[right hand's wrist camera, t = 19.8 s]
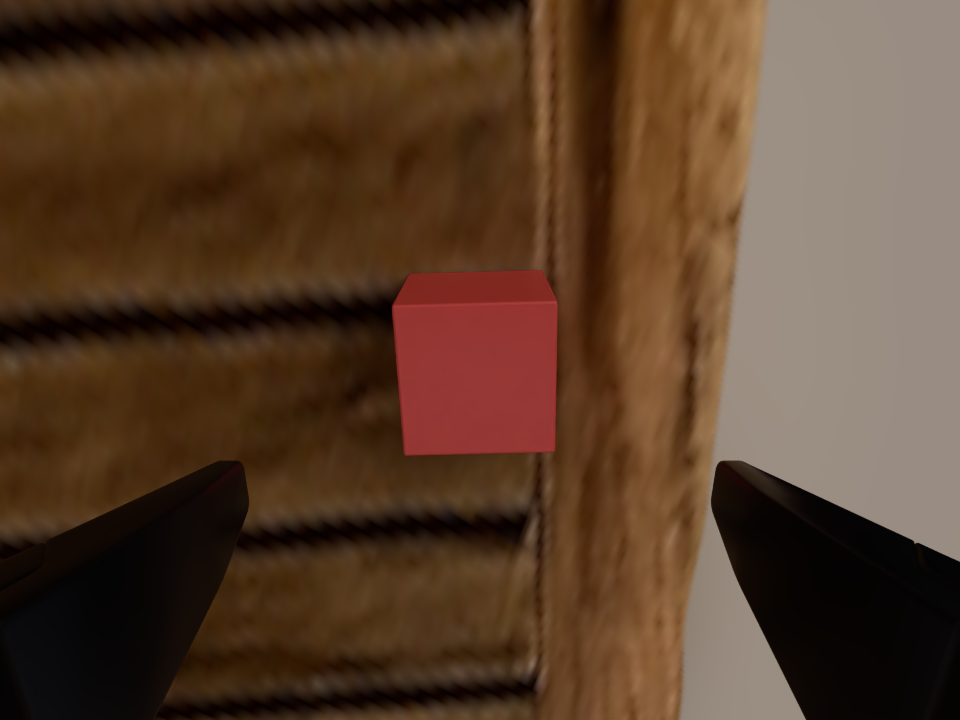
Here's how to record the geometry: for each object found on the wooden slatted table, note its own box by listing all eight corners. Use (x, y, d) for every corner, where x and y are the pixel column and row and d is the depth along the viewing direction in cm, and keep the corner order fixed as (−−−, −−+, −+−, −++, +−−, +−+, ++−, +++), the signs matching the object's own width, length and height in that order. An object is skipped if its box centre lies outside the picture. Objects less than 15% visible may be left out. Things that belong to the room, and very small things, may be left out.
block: (542, 269, 19) (558, 300, 15) (541, 396, 21) (555, 453, 17) (408, 273, 19) (391, 305, 15) (417, 399, 21) (403, 457, 17)
